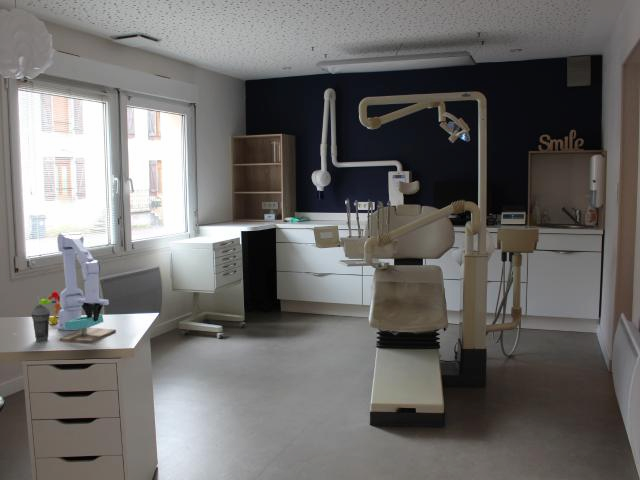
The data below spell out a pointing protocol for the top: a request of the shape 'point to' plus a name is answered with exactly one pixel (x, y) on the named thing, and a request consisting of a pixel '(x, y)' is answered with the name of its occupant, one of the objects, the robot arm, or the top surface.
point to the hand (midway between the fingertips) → (93, 320)
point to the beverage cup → (41, 322)
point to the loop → (82, 322)
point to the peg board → (87, 335)
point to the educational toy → (57, 306)
